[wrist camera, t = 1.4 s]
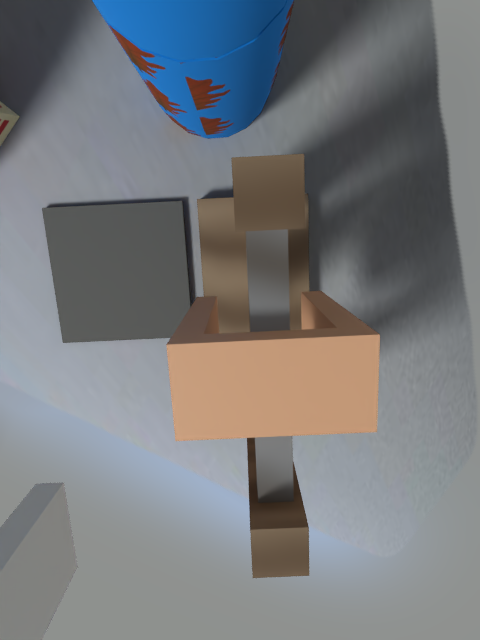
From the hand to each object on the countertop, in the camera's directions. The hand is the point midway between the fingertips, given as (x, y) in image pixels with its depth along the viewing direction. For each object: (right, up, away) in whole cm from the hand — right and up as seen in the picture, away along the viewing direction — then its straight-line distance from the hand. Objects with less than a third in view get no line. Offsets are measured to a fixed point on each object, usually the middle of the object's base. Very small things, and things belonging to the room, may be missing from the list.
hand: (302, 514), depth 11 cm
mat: (-13, +10, +27) cm, 32 cm away
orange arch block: (0, +5, +21) cm, 22 cm away
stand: (0, +7, +28) cm, 29 cm away
